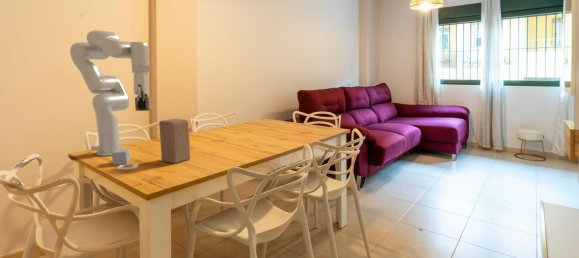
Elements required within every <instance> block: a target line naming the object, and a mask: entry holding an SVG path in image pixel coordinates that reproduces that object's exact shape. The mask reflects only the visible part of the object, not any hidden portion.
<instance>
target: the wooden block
mask: <svg viewBox="0 0 579 258" xmlns="http://www.w3.org/2000/svg"><path fill="white" fill-rule="evenodd" d="M158 126H159V140H160V152H161V160H162V162H165V163H166V162H167V163H172V164H174V165H175V164H179V163H182V162H186V161H189V160H190V159H191V150H190V149H191V148H190V146H191V145H190V130H189V129H190V127H189V121H188V120H187V119H181V118H170V119H165V120H160V121H159V123H158Z"/></svg>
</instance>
